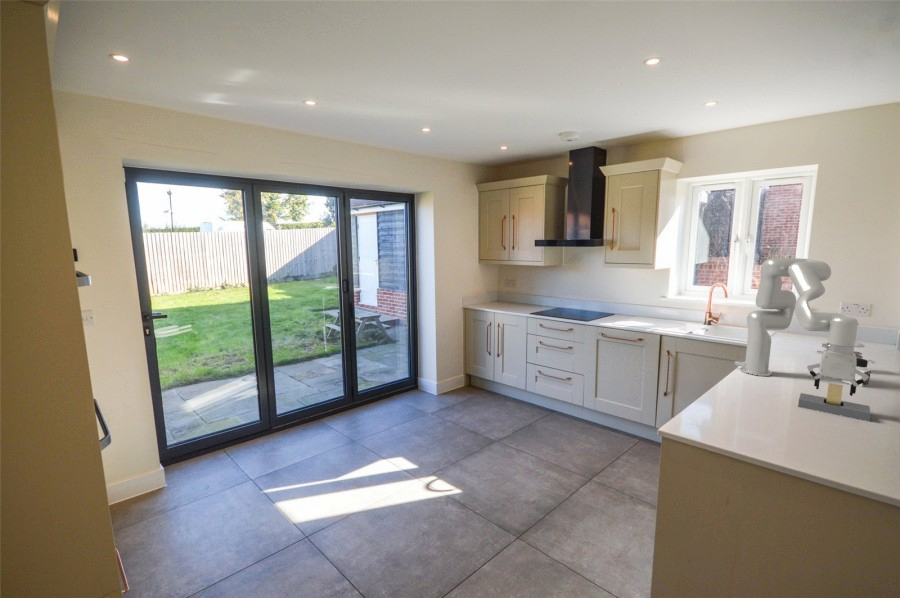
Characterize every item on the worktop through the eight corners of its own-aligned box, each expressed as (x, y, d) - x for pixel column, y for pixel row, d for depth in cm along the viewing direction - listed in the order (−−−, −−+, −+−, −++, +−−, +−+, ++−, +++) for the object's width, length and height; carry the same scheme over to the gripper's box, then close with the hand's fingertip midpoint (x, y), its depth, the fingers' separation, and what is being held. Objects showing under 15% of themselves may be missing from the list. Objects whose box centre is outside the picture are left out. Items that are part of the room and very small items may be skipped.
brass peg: (825, 410, 160) (828, 385, 159) (825, 407, 163) (828, 382, 162) (839, 412, 157) (842, 387, 156) (839, 409, 160) (842, 385, 159)
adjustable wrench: (875, 363, 225) (876, 360, 225) (870, 365, 223) (871, 362, 222) (819, 352, 248) (819, 350, 247) (813, 354, 245) (814, 351, 244)
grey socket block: (798, 406, 163) (798, 399, 163) (800, 399, 170) (800, 392, 170) (869, 421, 150) (870, 413, 149) (868, 413, 157) (869, 406, 156)
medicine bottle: (862, 387, 186) (865, 361, 185) (841, 382, 193) (845, 357, 191) (868, 384, 190) (872, 359, 188) (848, 380, 196) (851, 355, 194)
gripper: (809, 346, 160) (803, 388, 163) (872, 355, 148) (865, 400, 151) (810, 343, 166) (805, 383, 168) (871, 351, 154) (865, 394, 156)
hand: (833, 391), depth 160 cm, fingers open, 9 cm apart
